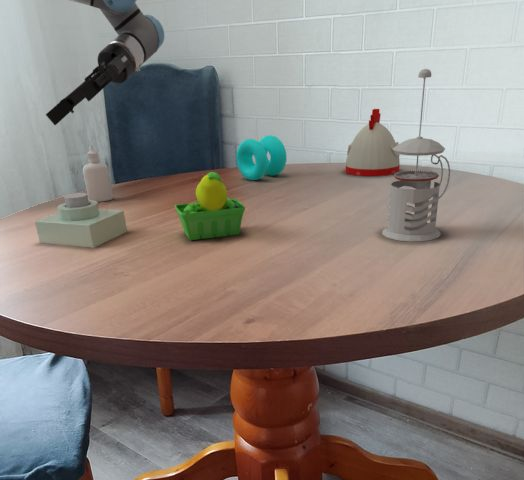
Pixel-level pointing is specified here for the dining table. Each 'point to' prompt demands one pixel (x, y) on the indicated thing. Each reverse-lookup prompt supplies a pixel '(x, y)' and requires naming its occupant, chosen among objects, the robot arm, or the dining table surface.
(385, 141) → the kitchen timer
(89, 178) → the eye dropper bottle
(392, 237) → the french press
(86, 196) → the grayish pink short cylinder
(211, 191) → the fruit basket
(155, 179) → the dining table surface
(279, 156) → the donuts
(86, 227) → the push button box
